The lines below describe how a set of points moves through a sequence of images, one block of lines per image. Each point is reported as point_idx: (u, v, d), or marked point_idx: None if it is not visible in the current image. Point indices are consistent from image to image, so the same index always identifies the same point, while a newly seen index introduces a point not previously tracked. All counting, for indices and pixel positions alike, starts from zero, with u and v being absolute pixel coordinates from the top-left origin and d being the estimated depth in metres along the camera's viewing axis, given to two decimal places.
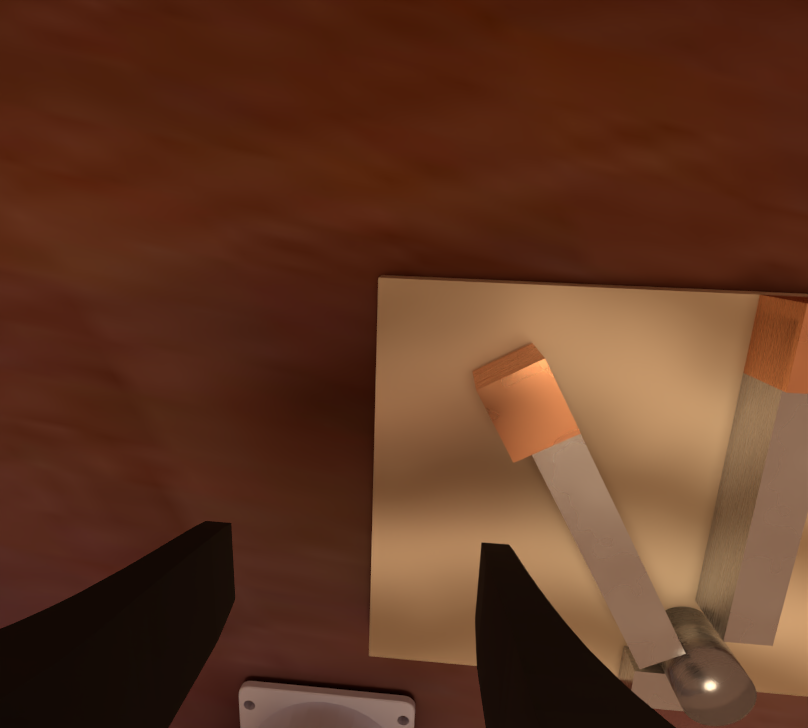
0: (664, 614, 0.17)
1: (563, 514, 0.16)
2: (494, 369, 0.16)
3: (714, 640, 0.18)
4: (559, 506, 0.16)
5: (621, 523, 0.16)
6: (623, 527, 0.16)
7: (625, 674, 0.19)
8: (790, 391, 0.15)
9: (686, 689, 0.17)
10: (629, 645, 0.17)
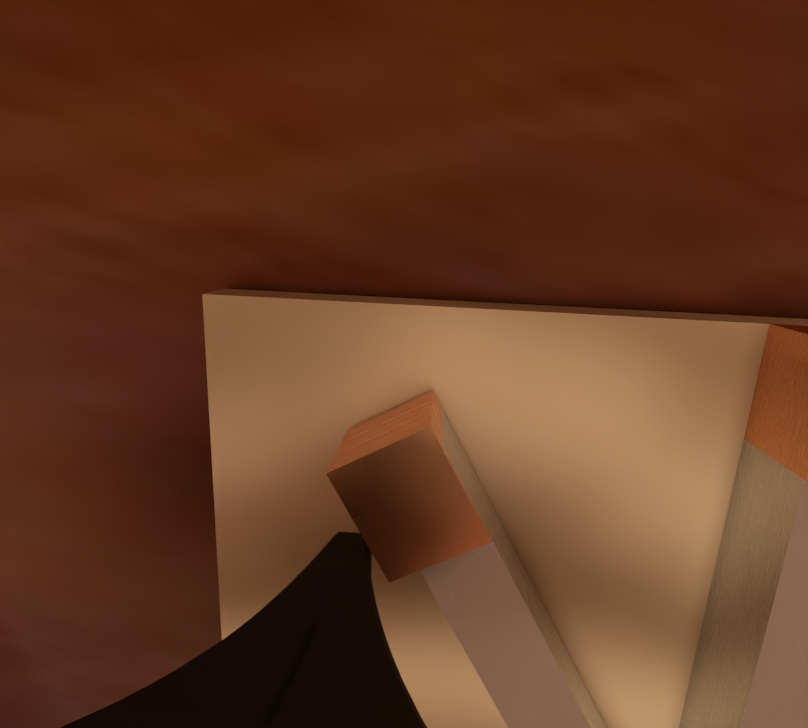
0: None
1: (470, 657, 0.11)
2: (369, 432, 0.11)
3: None
4: (464, 644, 0.11)
5: (558, 672, 0.10)
6: (562, 678, 0.11)
7: None
8: None
9: None
10: None
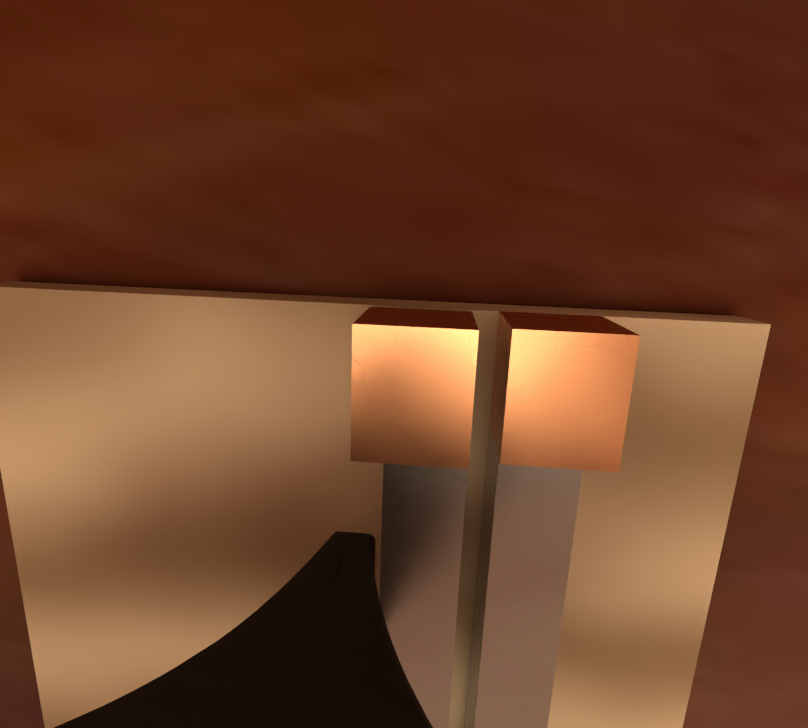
0: None
1: (382, 568, 0.10)
2: (399, 314, 0.10)
3: None
4: (383, 554, 0.10)
5: (453, 619, 0.10)
6: (453, 625, 0.10)
7: None
8: (504, 462, 0.10)
9: None
10: None
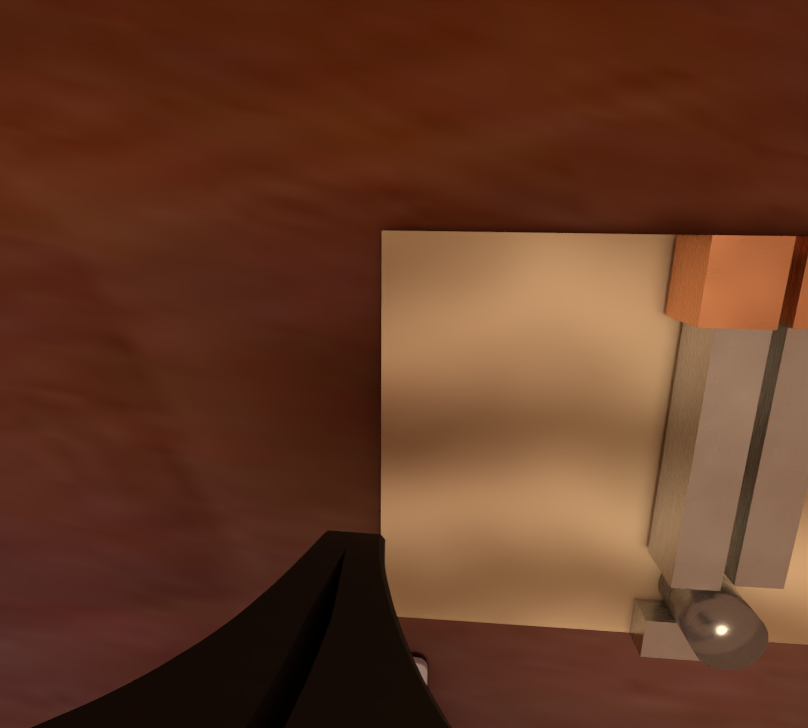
0: (727, 545, 0.16)
1: (704, 404, 0.15)
2: None
3: (725, 585, 0.18)
4: (705, 395, 0.15)
5: (748, 439, 0.16)
6: (747, 444, 0.16)
7: (636, 626, 0.20)
8: (796, 327, 0.15)
9: (698, 633, 0.17)
10: (677, 560, 0.17)
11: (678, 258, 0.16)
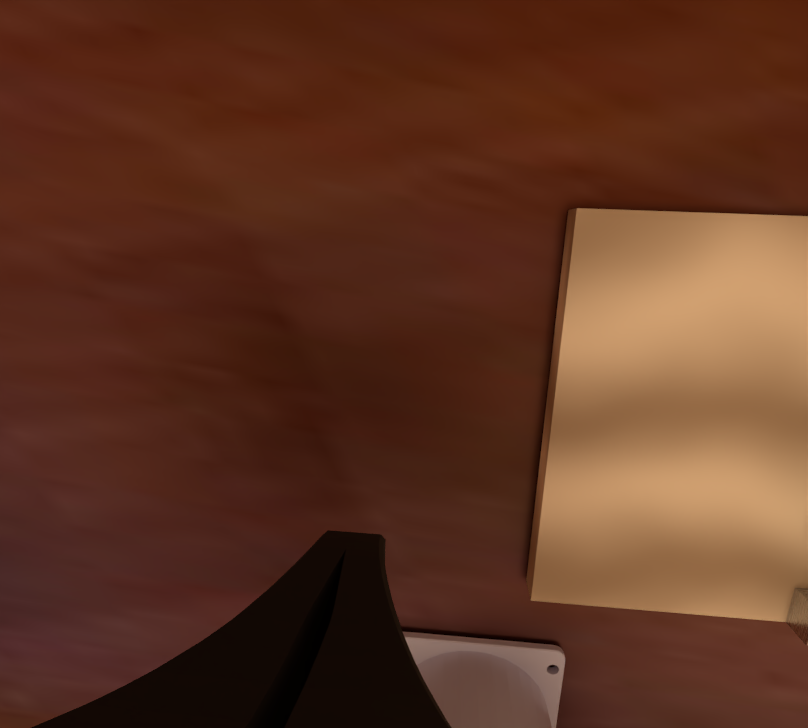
0: None
1: None
2: None
3: None
4: None
5: None
6: None
7: (799, 615, 0.19)
8: None
9: None
10: None
11: None
